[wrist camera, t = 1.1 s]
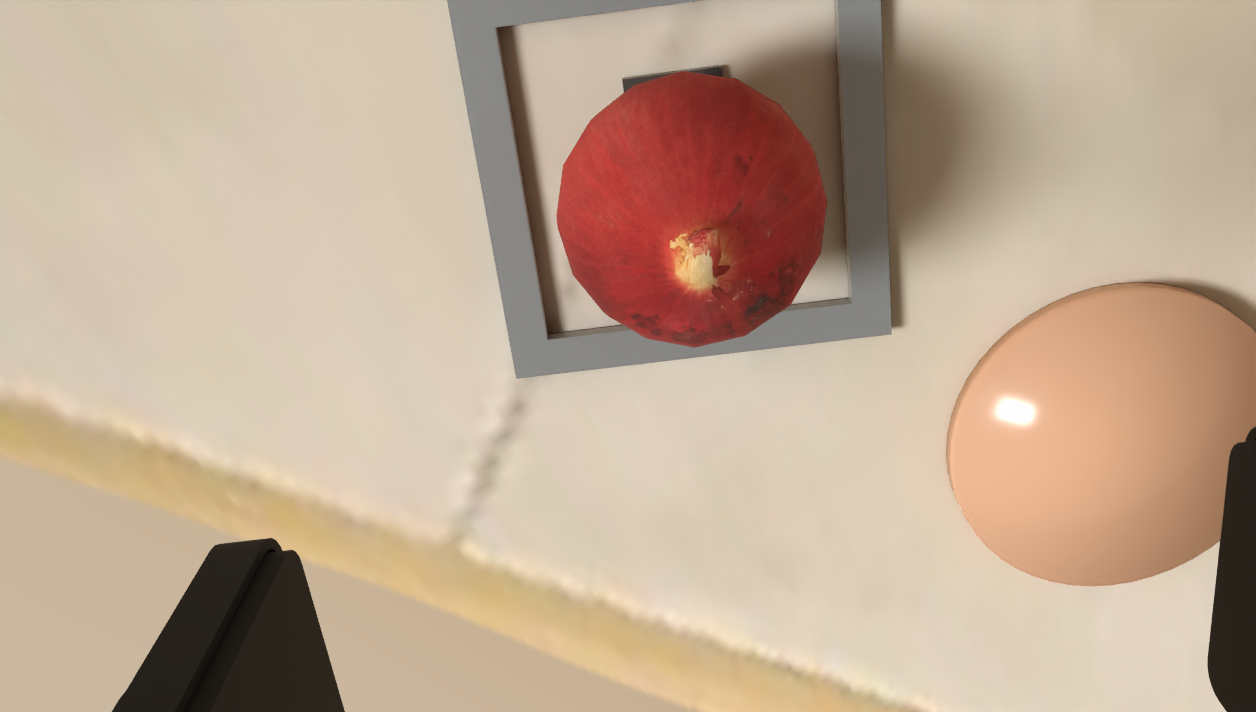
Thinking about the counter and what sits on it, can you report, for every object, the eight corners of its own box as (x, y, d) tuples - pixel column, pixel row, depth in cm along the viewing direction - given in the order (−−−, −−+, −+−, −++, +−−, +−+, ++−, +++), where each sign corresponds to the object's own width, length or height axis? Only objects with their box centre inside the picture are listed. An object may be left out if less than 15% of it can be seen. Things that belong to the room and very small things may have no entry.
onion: (843, 190, 28) (924, 303, 20) (660, 321, 29) (675, 471, 22) (706, -1, 26) (742, 49, 19) (518, 149, 27) (481, 250, 20)
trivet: (1290, 262, 29) (1308, 273, 28) (1255, 551, 32) (1270, 567, 32) (944, 304, 29) (953, 315, 28) (947, 585, 33) (955, 602, 32)
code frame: (874, -70, 25) (878, -70, 25) (888, 328, 29) (891, 333, 29) (447, -14, 26) (444, -11, 25) (517, 372, 30) (516, 378, 29)
